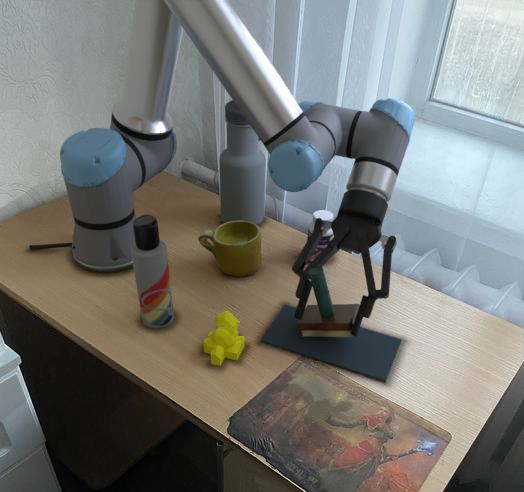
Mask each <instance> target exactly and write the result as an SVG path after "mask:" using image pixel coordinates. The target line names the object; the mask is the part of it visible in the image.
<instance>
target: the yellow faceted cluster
mask: <svg viewBox="0 0 524 492" xmlns="http://www.w3.org/2000/svg"><path fill="white" fill-rule="evenodd" d="M214 321H215V323H216V326H217V328H216V329H215V330H214V331H209V333H208V337H205V338H204V339H203V353H205V354H208V355H210V364H211V365H214V366H218V367H221V366H222V364H223V362H224V360H225V359H228V360H232V361H236V362H237V361H238V360H239V358H240V357H241V354H242V352H243V350H244V349H245V347H246V345H245V344H246V343H245V339H246V338H245V336H244V335H239V333H240V332H239V331H238V328H239V326H240V324H241V321H240V320H239V319H238V318H237V317H236V316H234V314H233V313H232V312H230V311H229V310H227V309H225V310H224V311H222V312H221V313H220V314H217V316H215V318H214Z"/></svg>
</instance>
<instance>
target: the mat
mask: <svg viewBox="0 0 524 492" xmlns="http://www.w3.org/2000/svg"><path fill="white" fill-rule="evenodd" d="M296 308H297V307H294V306H292V305H288V304H284V306H282V308H281V310H280V311H279V313H278V314H277V316H276V317H275V318H274V320H273V322H272V323H271V324H270V326H269V327H268V329H267V330H266V332H265V333H264V335H263V336H262V338H261V339H260V343H262V344H263V343H264V344H266V345H269V346H272V347H276V348H278V349H280V350H281V349H282V350H285V351H287V352H290V353H293V354H297V355H300V356H303V357H306V358H309V359H313V360H316V361H319V362H322V363H325V364H328V365H331V366H335V367H337V368H340V369H343V370H346V371H349V372H352V373H356V374H359V375H362V376H365V377H368V378H371V379H375V380H376V381H377V380H378V381H381V382H383V383H386V382H387V379H388V376H389V374H390V371H391V369H392V366H393V364H394V361H395V358H396V356H397V353H398V351H399V348H400V346H401V342H402V338H399V337H396V336H392V335H389V334H385V333H381V332H378V331H375V330H373V329H369V328H365V327H362V326H360V328H359V331H358V335H357V337H356V336H352V337H308V336H303V335H302V332H301V331H299V330H298V327H297V324H296V323H297V321H298V320H299V319H296V318H295V317H294V315H295V312H296Z"/></svg>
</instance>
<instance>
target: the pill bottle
mask: <svg viewBox="0 0 524 492" xmlns="http://www.w3.org/2000/svg"><path fill="white" fill-rule="evenodd" d="M317 218H321V219H322V221H330V222H332V221H333V220H334V214H333V212H331V211H328V210H326V209H317V210H316V211H314V212H313V215H312V220H311V222H310V223H309V224H308V227H307V228H308V229H307V238H306V242H307V241H308V239H309V237H310V236H311V234H312V232H313V230H314V225H315V221H316V219H317ZM333 238H334V234H333V231H332V229H329V230H328V231H327V233H326V234H323V236H322V239H321V240H320V242H319V244H318V246H317V247H316V249H315V251H314V252H313V254H312V256H311V257H310V259H309V261H310V262H312V261H313V260H314V259H315V258H316V257H317V256H318V255H319V254H320V253H321V252H322V250H323V249H324V248H325V247H326V246H327V245H328V243H329V242H330V241H331V240H332V239H333ZM330 260H331V258H330V259H329V260H328V261H327V262H329V261H330Z"/></svg>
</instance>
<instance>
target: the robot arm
mask: <svg viewBox="0 0 524 492" xmlns="http://www.w3.org/2000/svg"><path fill="white" fill-rule="evenodd" d="M132 10H133V11H132V19H131V28H130V35H129V43H128V50H127V58H126V64H125V73H124V82H123V88H122V95H121V96H122V97H121V99H120V100H118V101H116V102H114V104H113V106H112V108H111V116H110V117H111V118H110V124H109V128H107V127H95V128H94V127H92V128H88V129H87V130H80V131H77V132H75V133H73V134H72V135H70V136H68V137H67V138H66V139H65V140H64V141H63V143H61V147H60V149H59V160H60V170H61V175H62V176H63V181H64V184H65V188H66V192H67V196H68V200H69V205H70V208H71V209H70V210H71V212H72V216H73V217H72V218H73V221H74V226H73V234H72V242H60V243H59V242H58V243H45V244H30V245H28V247H29V248H28V249H29V250H35V251H36V250H47V249H58V248H59V249H60V248H71V254H72V257H73V260H74V263H75V264H76V265H77V266H78V267H79V268H81V269H83V270H85V271H87V272H92V273H97V274H114V273H121V272H125V271H128V270H130V269H134V268H133V262H132V256H131V246H132V244H133V243H134V242H135V236H134V230H133V221H134V220H135V219H136V218H137V217H136V213H135V206H134V205H135V204H134V197H133V194H134V192H136V191H137V190H138V189H140V188H141V187H142V186H143V185H145V184H146V183H147V182H149V181H150V180H151V179H153V178H154V177H156V176H157V175H159V174H161V173H162V172H164V170H166V169H167V168H168V166H169V165H170V164H171V162H172V161H173V160H174V158H175V155H176V153H177V149H178V141H177V140H178V139H177V134H176V132H174V127H173V126H174V121H173V117H172V116H171V114H170V113H169V112H168V110H169V106H170V101H171V96H172V91H173V85H174V80H175V75H176V70H177V65H178V59H179V54H180V49H181V44H182V39H183V36H184V35H183V34H184V32H185V33H186V35H187V36H188V38H189V39H190V40H191V42H192V43H193V45H194V46H195V48H196V49H197V50H198V52H199V54H200V55H201V57H202V58H203V59H204V61H205V63H206V64H207V65H208V67H209V68H210V69H211V71H212V72H213V74H214V75H215V76H216V78H217V80H218V81H219V83H220V85H222V87H223V88H224V90H225V91H226V92H227V94H228V95H229V97H230V98H231V99H232V100H233V101H234V102H235V104H236V105H237V107H238V108H239V110H240V111H241V113H242V114H243V116H244V117H245V118H246V120H247V121H248V123H249V124H250V126H251V127H252V129H253V130H254V131H255V133H256V134H257V136H258V137H259V139H260V142H261V143H262V145H263V146H264V148H265V149H266V151H267V153H268V154H269V157H268V161H267V167H268V172H269V177H270V179H271V180H272V181H273V183H274V184H275V186H277V187H278V188H280V189H281V190H283V191H286V192H289V193H299V192H303V191H305V190H307V189H308V188H309V187H310V186H311V185H312V184H313V183H314V182H316V181H318V180H319V178H320V177H321V176H322V174H323V171H324V170H325V169H326V168H327V166H328V165H329V164H330V162H331V161H332V160H333V158H334V157H335V156H337V157H342V158H347V159H351V160H352V159H354V161H353V165H352V169H351V171H350V174H349V177H348V180H347V183H346V186H345V188H346V191H345V192H343V195H342V199H341V202H340V204H339V209H338V211H337V215H336V216H335V218H333V221H332V222H330V221H322V219H321V218H317V219H316V221H315V225H314V230H313V232H312V234H311V236H310V237H309V239H308V241H307V240H306V242H305V244H304V246H303V248H302V249H301V250H300V252H299V254H298V256H297V257H296V259H295V262H294V263H293V265H292V266H291V271H292V272H293V273H294V274H295V275H297V276H298V277H299V280H298V284H297V286H296V290H295V294H294V295H295V296H294V297H295V298H297V299H299V300H298V303H297V305H296V307H295V308H296V312H295V315H294V317H295V318H296V319H299V320H302V317H303V314H304V310H305V309H306V307H307V305H308V301H309V298H310V295H311V291H312V290H313V287H312V283H311V280H310V276H309V270H310V269H312V268H315V267H322V268H323V267H324V265H325V264H326V263H328V262H329V261H330V260H331V258H332V257H333V256H334V255H336V254H337V253H338V252H340V250H341V251H345V252H352V253H354V254H357V255H360V254H361V259H362V264H363V271H364V276H365V283H366V288H367V293H368V294H367V295H364V294H362V297H361V299H360V303H359V305H360V306H359V309H358V312H357V315H356V318H355V321H354V325H353V328H352V331H351V335H352V336H356V337H357V335H358V331H359V328H360V327H361V325H362V321H363V318H366V319H370V317H371V316H372V314H373V313H372V312H373V310H374V306H375V303H376V301H377V300H381V299H384V300H386V299H388V298H389V296H390V288H391V287H390V286H391V273H392V262H393V261H392V259H393V253H394V250H395V248H396V246H397V237H396V236H395V235H387V234H384V233H383V232H382V227H383V223H384V221H385V217H386V214H387V211H388V208H389V203H388V202H389V201H390V200H391V199H392V195H393V192H394V189H395V185H396V182H397V179H398V176H399V172H400V171H401V168H402V164H403V161H404V158H405V156H406V153H407V149H408V147H409V144H410V141H411V135H412V131H413V128H414V125H415V121H416V115H415V112H414V109H413V108H412V107H411V106H410V105H409V104H408V103H406V102H404V101H402V100H400V99H397V98H393V97H392V98H391V97H388V98H387V99H385V98H379V99H377V100H375V102H373V104H372V106H371V107H370V109H369V111H366V110H362V111H361V110H357V109H352V108H349V107H348V108H347V107H343V106H338V105H334V104H328V103H325V102H322V101H308V100H303V101H301V102H299V103H298V102H297V100H296V99H295V97H294V95H293V94H292V92H291V91H290V89H289V88H288V86H287V85H286V83H285V81H284V80H283V78H282V77H281V75H280V74H279V72H278V71H277V69H276V68H275V66H274V64H273V63H272V61H271V60H270V58H269V57H268V55H267V53H266V52H265V50H264V49H263V47H262V45H261V44H260V42H259V41H258V39H257V38H256V36H255V35H254V32H253V31H252V30H251V29H250V27H249V25H248V23H247V21H246V20H245V19H244V17H243V16H242V14H241V12H240V11H239V9H238V8H237V6H236V5H235V3H234V2H233V0H134V3H133V9H132ZM329 229H332V231H333V234H334V238H333V239H332V240H331V241H330V242H329V243H328V245H327V246H326V247H325V248H324V249H323V250H322V252H321V253H320V254H319V255H318V256H317V257H316V258H315V259H314V260H313V261H310V260H309V259H310V257H311V256H312V254H313V252H314V251H315V249H316V247H317V246H318V244H319V242H320V240H321V239H322V236H323V234H326V233H327V231H328V230H329ZM378 242H381V249H383V254H382V255H383V256H382V268H381V280H380V281H381V282H380V289H377V288H376V282H375V276H374V271H373V265H372V257H371V252H370V249H371V248H372V247H373V246H375V245H376V244H377V243H378ZM329 259H330V260H329ZM328 260H329V261H328ZM309 261H310V263H309ZM308 263H309V264H308Z"/></svg>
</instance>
